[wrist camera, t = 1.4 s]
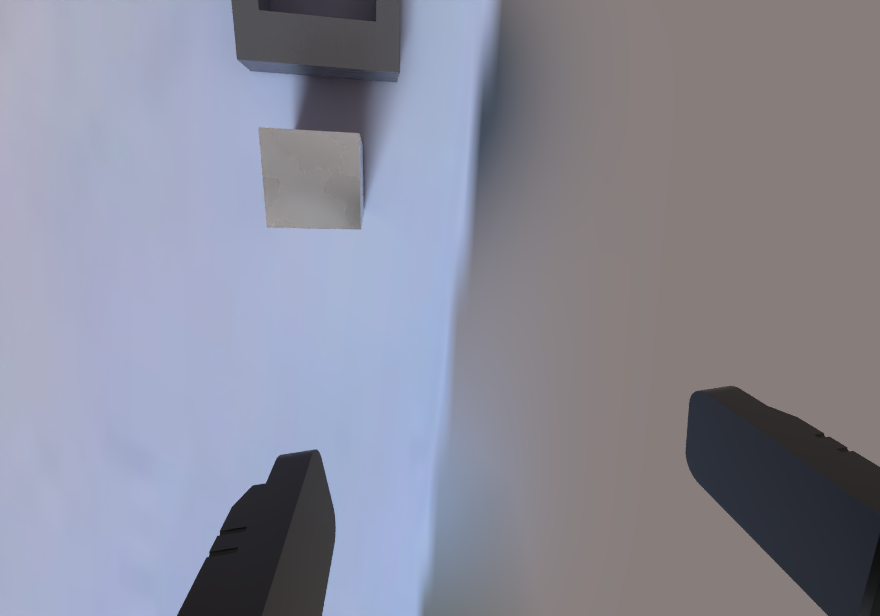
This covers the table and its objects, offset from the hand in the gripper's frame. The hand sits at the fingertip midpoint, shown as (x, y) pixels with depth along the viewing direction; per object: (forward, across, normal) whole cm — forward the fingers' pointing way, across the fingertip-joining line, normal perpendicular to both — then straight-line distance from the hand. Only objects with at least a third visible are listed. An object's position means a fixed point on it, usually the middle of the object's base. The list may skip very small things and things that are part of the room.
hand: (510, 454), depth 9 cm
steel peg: (+20, +6, -6) cm, 21 cm away
